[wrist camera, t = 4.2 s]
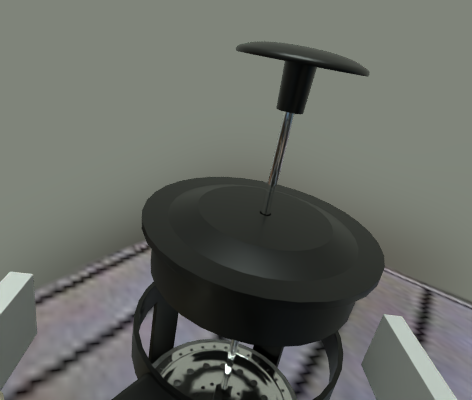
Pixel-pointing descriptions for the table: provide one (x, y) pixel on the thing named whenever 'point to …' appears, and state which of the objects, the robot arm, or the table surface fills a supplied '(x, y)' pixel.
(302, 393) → the table surface
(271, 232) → the french press
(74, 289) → the table surface
